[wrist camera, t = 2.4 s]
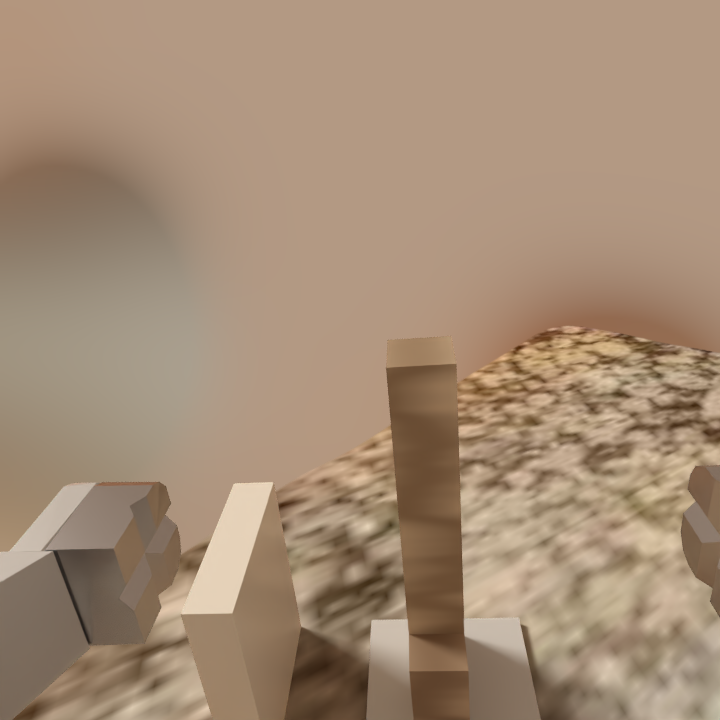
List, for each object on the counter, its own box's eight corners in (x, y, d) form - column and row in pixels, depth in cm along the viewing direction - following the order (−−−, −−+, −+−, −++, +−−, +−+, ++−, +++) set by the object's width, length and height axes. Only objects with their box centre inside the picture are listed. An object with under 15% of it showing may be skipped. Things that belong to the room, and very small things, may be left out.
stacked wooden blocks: (458, 634, 32) (447, 318, 24) (470, 748, 26) (461, 388, 19) (413, 634, 32) (388, 322, 24) (415, 748, 27) (384, 392, 19)
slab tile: (301, 626, 34) (273, 482, 30) (273, 776, 27) (232, 613, 22) (263, 627, 34) (231, 483, 30) (226, 775, 27) (176, 614, 23)
